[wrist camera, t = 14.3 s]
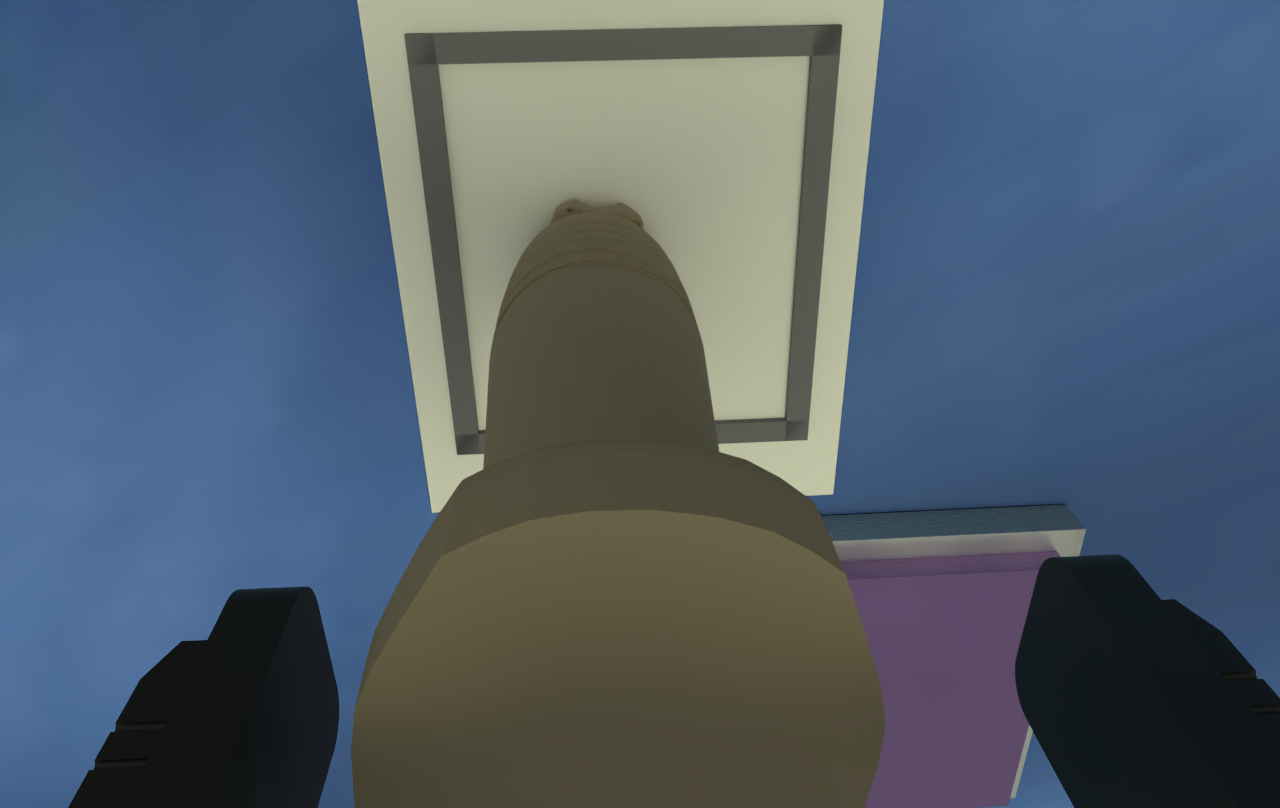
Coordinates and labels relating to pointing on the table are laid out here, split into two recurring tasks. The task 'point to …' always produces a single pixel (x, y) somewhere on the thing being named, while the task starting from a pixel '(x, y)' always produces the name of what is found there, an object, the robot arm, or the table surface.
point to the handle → (615, 579)
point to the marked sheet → (633, 190)
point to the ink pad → (949, 642)
